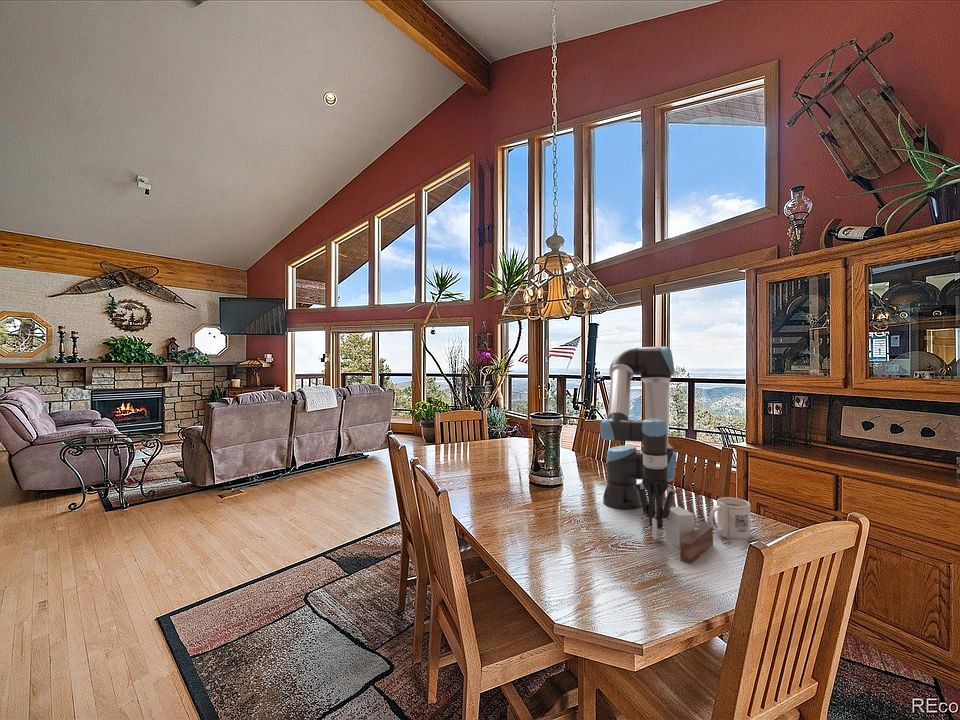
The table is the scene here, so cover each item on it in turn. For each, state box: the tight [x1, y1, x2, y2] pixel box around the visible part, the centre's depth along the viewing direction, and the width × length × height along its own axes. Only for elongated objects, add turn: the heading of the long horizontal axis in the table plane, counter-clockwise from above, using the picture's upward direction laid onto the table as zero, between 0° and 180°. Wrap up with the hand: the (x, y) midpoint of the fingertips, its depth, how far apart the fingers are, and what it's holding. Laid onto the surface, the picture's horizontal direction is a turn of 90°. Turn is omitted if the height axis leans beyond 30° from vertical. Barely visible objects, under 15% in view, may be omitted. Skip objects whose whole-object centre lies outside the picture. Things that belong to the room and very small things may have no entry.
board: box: [679, 523, 714, 565], centre depth 139 cm, size 3×18×6 cm, turn 134°
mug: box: [708, 496, 752, 541], centre depth 152 cm, size 10×12×11 cm
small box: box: [664, 506, 696, 549], centre depth 146 cm, size 8×6×10 cm
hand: (656, 536), depth 149 cm, fingers closed
